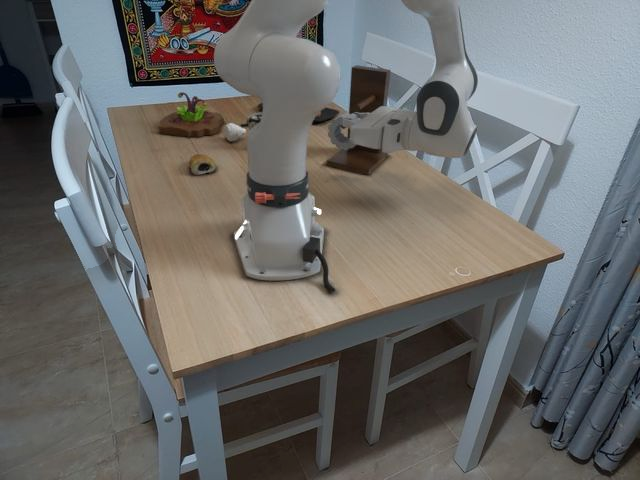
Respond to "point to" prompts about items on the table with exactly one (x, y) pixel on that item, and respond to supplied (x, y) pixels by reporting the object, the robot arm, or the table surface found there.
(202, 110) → the plant
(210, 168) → the pastry
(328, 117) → the sushi plate
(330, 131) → the grey knurled ring
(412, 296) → the table surface
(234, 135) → the white cream swirl
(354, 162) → the stand
